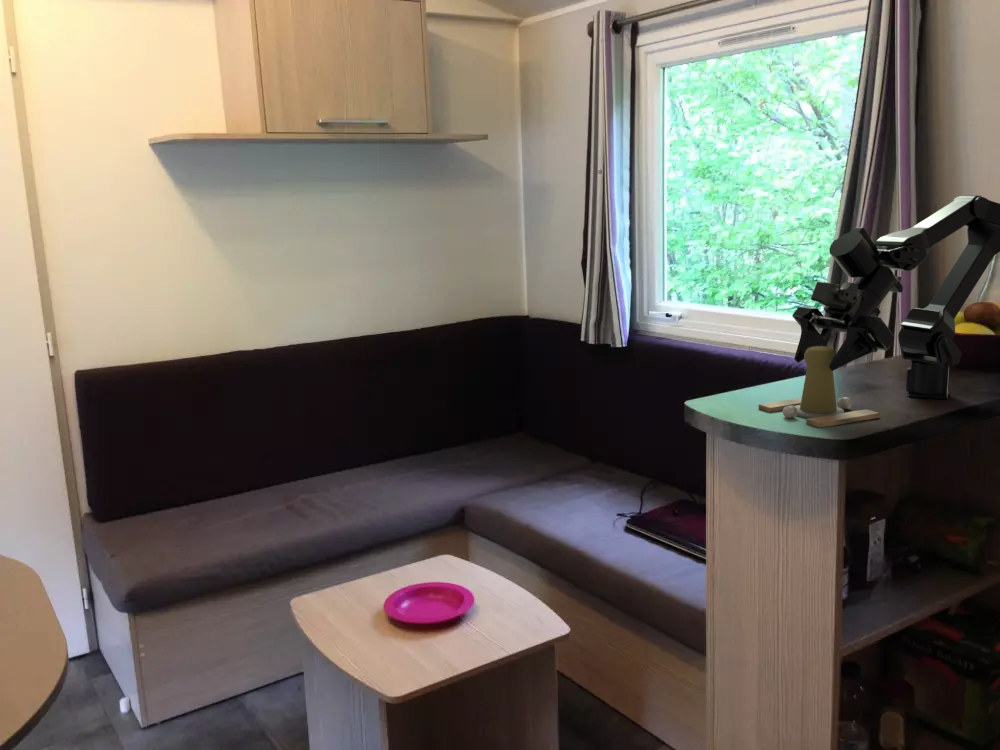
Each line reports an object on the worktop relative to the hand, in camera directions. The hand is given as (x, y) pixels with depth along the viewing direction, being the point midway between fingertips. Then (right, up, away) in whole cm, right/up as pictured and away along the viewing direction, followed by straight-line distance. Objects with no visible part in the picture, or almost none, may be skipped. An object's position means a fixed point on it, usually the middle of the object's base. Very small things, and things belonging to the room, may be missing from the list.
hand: (813, 364), depth 154 cm
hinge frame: (+2, -8, +2) cm, 9 cm away
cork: (+2, -8, +2) cm, 8 cm away
